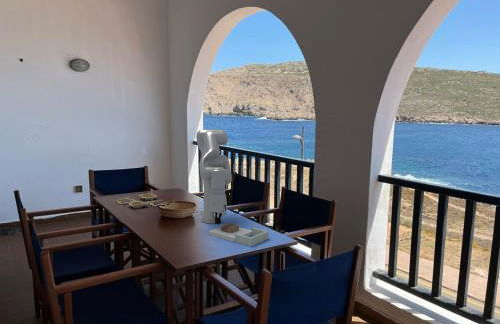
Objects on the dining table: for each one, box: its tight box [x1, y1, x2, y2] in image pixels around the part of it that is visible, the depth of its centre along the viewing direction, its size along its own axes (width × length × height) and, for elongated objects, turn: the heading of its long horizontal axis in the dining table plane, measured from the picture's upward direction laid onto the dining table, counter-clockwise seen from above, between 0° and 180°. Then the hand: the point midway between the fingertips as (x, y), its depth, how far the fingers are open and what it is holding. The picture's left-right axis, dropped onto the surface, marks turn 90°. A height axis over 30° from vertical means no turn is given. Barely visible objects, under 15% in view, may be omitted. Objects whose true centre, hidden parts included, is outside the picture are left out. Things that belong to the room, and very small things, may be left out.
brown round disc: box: [220, 222, 240, 233], centre depth 203 cm, size 7×7×3 cm
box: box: [234, 227, 270, 247], centre depth 194 cm, size 10×15×4 cm
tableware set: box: [115, 192, 164, 209], centre depth 267 cm, size 35×29×4 cm
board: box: [208, 226, 253, 243], centre depth 203 cm, size 18×16×2 cm
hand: (217, 223), depth 208 cm, fingers closed
